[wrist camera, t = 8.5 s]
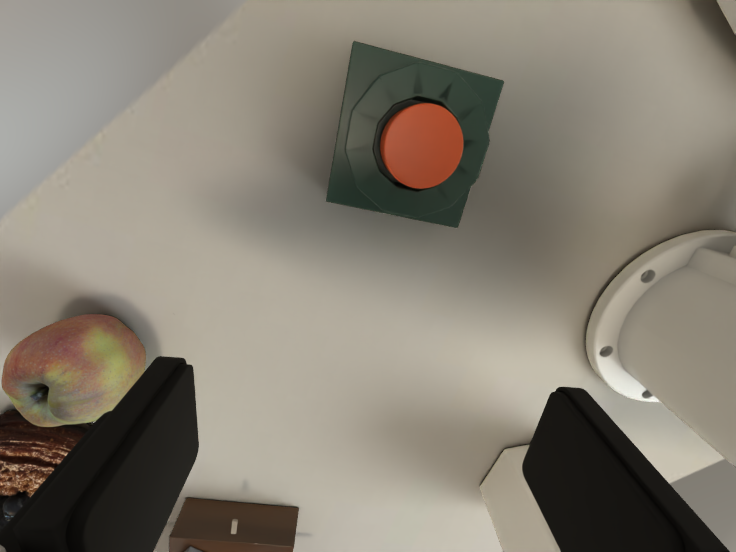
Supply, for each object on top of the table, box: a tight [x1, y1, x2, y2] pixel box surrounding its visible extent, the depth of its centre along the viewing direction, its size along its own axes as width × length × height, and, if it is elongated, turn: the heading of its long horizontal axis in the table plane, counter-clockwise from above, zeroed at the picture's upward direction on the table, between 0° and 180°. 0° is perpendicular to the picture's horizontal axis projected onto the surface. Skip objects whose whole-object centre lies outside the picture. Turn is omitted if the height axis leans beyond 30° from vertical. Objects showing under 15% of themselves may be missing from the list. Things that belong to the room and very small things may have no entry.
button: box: [380, 103, 463, 189], centre depth 15 cm, size 3×3×2 cm
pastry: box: [0, 410, 91, 532], centre depth 24 cm, size 11×12×6 cm
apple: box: [2, 314, 146, 427], centre depth 20 cm, size 6×8×6 cm
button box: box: [326, 41, 504, 228], centre depth 17 cm, size 7×7×4 cm
